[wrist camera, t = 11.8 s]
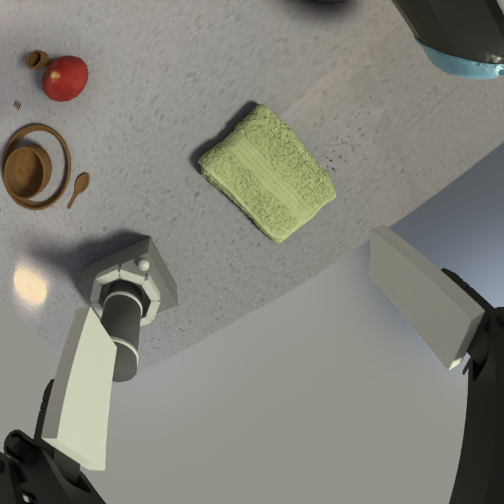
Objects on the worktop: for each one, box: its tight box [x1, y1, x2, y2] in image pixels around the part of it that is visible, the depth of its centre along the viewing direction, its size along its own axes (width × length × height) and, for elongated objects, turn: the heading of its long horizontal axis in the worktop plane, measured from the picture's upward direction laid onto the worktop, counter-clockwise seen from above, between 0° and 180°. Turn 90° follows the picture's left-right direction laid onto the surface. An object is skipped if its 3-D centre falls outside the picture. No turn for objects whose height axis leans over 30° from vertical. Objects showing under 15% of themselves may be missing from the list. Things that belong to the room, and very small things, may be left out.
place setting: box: [2, 50, 89, 210], centre depth 27 cm, size 18×20×6 cm
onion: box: [43, 56, 88, 102], centre depth 23 cm, size 6×6×8 cm
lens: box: [100, 280, 143, 382], centre depth 31 cm, size 5×5×13 cm
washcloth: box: [198, 104, 336, 243], centre depth 39 cm, size 13×18×3 cm
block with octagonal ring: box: [75, 237, 178, 327], centre depth 39 cm, size 12×9×6 cm
